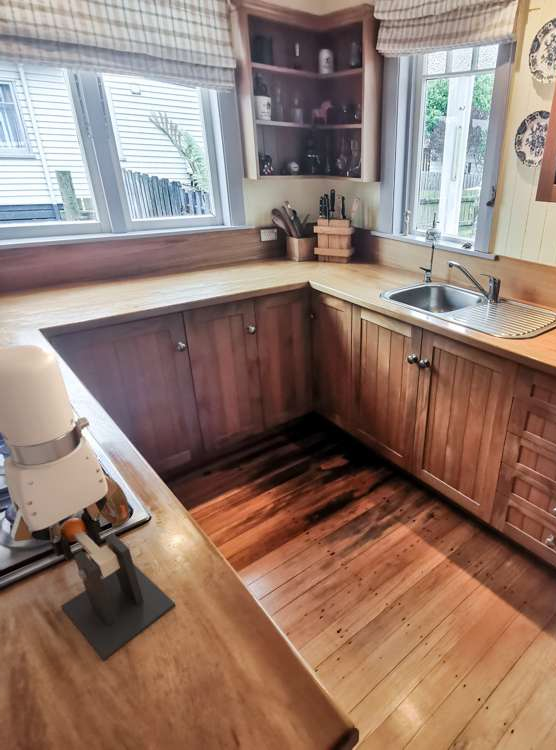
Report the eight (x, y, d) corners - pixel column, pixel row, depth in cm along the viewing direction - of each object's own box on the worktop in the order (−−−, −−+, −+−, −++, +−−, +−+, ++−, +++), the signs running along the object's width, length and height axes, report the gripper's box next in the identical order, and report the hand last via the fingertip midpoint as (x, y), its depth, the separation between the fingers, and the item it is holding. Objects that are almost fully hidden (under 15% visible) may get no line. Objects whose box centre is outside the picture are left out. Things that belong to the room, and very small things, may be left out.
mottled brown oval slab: (75, 499, 86) (63, 463, 82) (92, 490, 88) (81, 454, 84) (119, 537, 78) (108, 498, 74) (137, 525, 81) (127, 487, 77)
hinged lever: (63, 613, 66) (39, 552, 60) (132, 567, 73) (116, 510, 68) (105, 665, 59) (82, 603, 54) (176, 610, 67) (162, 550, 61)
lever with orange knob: (59, 539, 67) (53, 522, 65) (82, 526, 69) (77, 510, 68) (100, 583, 60) (94, 566, 59) (124, 567, 63) (119, 550, 61)
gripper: (97, 406, 67) (123, 504, 75) (-46, 460, 55) (3, 570, 63) (124, 424, 63) (148, 525, 71) (-24, 487, 51) (26, 600, 59)
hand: (80, 545), depth 67 cm, fingers closed on lever with orange knob, 3 cm apart
